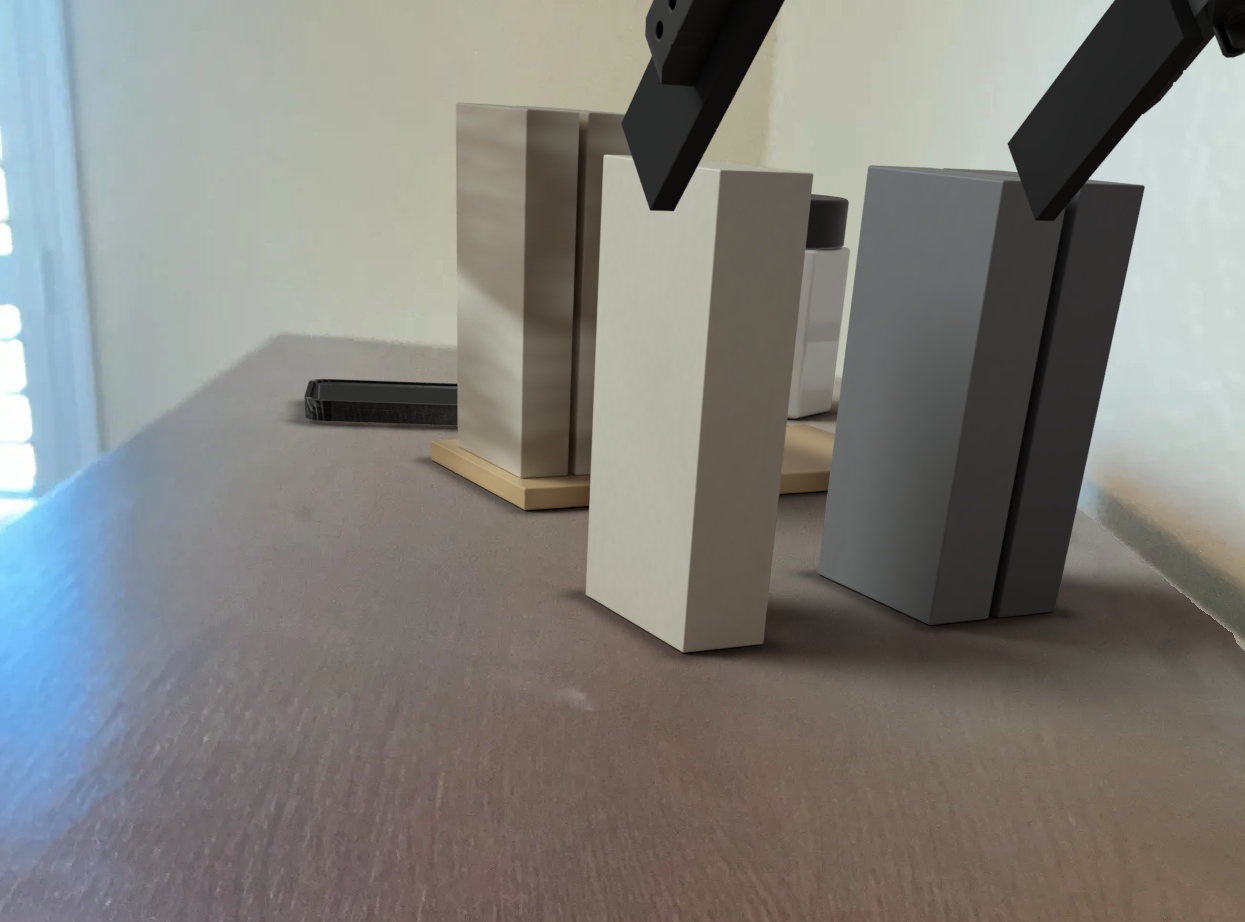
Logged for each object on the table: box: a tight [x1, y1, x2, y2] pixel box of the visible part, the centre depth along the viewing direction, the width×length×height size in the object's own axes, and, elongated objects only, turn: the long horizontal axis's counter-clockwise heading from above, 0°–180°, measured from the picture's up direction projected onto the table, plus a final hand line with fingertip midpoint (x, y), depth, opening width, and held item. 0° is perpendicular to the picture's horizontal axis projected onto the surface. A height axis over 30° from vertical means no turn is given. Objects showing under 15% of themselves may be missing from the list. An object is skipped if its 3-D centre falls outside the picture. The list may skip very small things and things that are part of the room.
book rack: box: [430, 102, 835, 511], centre depth 78 cm, size 24×12×16 cm, turn 117°
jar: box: [787, 193, 851, 419], centre depth 98 cm, size 9×8×12 cm
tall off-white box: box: [585, 155, 814, 654], centre depth 55 cm, size 4×8×15 cm, turn 27°
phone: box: [303, 378, 458, 427], centre depth 92 cm, size 8×1×15 cm
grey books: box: [817, 164, 1146, 626], centre depth 60 cm, size 6×8×15 cm
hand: (850, 177), depth 45 cm, fingers open, 13 cm apart
